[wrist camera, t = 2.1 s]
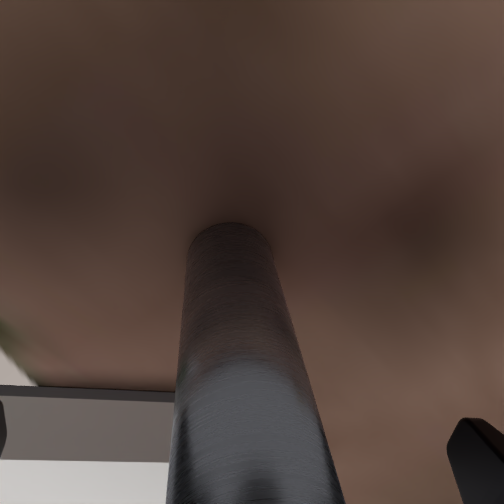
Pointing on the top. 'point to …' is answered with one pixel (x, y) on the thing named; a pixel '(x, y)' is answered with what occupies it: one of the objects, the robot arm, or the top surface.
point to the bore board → (85, 446)
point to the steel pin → (243, 385)
